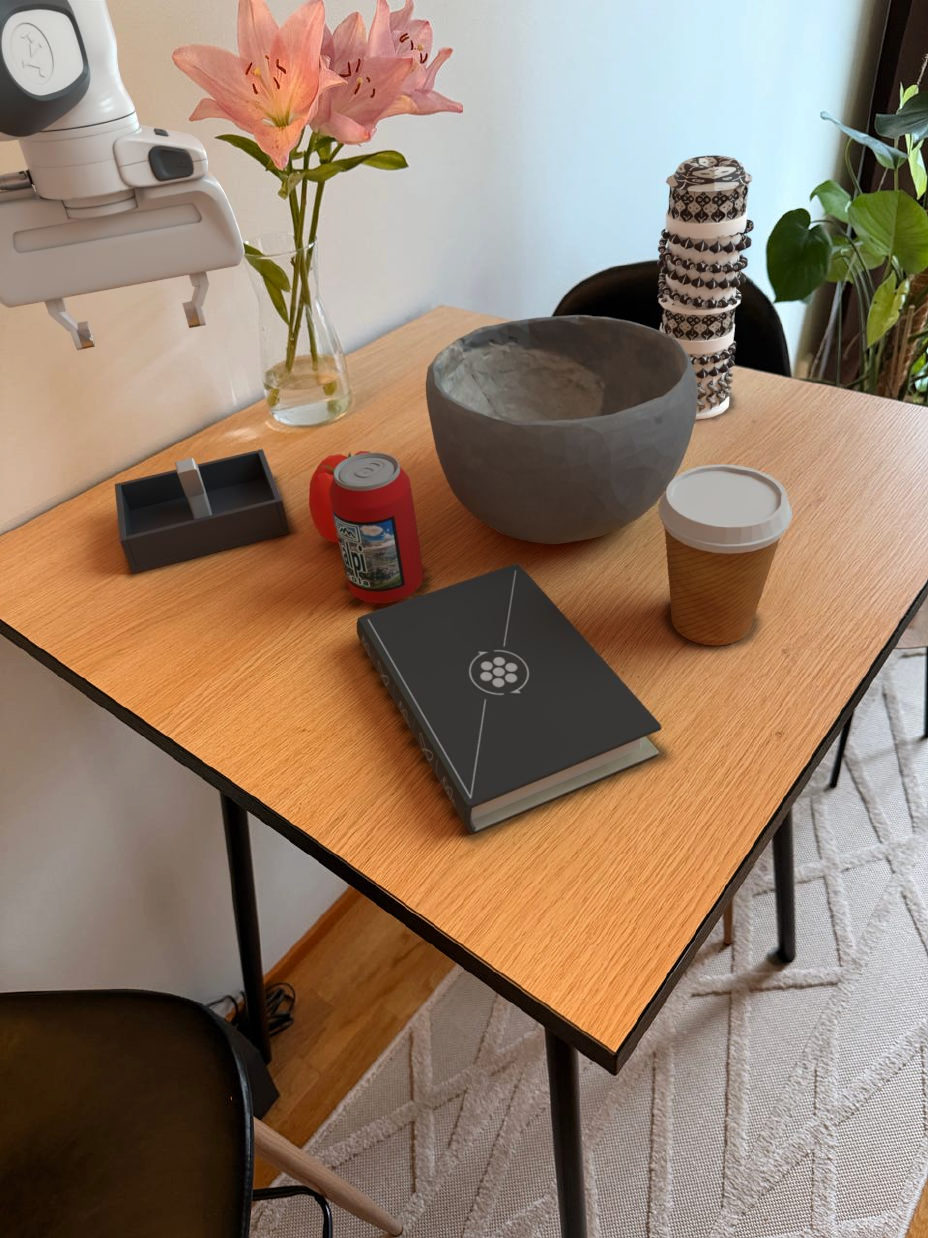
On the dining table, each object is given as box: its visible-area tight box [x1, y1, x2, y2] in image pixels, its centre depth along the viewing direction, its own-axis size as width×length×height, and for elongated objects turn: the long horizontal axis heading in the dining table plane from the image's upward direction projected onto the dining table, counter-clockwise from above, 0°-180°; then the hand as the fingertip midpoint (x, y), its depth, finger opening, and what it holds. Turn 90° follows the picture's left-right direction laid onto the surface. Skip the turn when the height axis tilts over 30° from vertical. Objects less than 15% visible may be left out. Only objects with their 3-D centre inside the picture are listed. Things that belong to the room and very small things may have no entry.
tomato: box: [308, 450, 372, 544], centre depth 85 cm, size 9×9×8 cm
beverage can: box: [329, 452, 424, 604], centre depth 77 cm, size 7×7×12 cm
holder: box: [114, 448, 291, 575], centre depth 90 cm, size 15×11×4 cm
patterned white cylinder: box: [657, 155, 755, 421], centre depth 95 cm, size 9×9×25 cm
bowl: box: [425, 314, 698, 545], centre depth 84 cm, size 24×24×15 cm
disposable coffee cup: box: [657, 463, 793, 646], centre depth 70 cm, size 10×10×12 cm
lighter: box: [174, 457, 212, 519], centre depth 88 cm, size 7×2×8 cm, turn 19°
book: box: [356, 562, 663, 835], centre depth 68 cm, size 22×15×3 cm
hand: (142, 335), depth 78 cm, fingers open, 8 cm apart
